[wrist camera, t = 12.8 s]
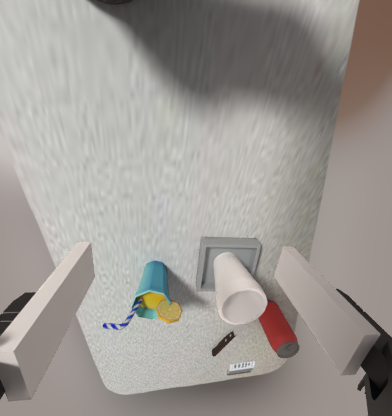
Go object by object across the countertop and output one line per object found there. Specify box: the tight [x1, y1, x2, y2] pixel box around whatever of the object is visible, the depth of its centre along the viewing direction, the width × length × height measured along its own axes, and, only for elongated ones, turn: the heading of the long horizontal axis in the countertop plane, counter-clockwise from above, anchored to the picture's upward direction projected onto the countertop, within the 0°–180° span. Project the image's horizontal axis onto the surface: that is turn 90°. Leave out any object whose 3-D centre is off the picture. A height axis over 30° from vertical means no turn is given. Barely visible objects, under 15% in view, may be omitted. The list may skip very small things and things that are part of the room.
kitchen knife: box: [212, 324, 246, 356], centre depth 60 cm, size 18×1×2 cm, turn 144°
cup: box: [103, 261, 182, 330], centre depth 41 cm, size 14×8×15 cm, turn 90°
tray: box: [196, 237, 261, 291], centre depth 48 cm, size 14×14×3 cm
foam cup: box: [213, 252, 267, 325], centre depth 43 cm, size 10×9×13 cm
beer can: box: [259, 301, 299, 358], centre depth 52 cm, size 7×7×12 cm
